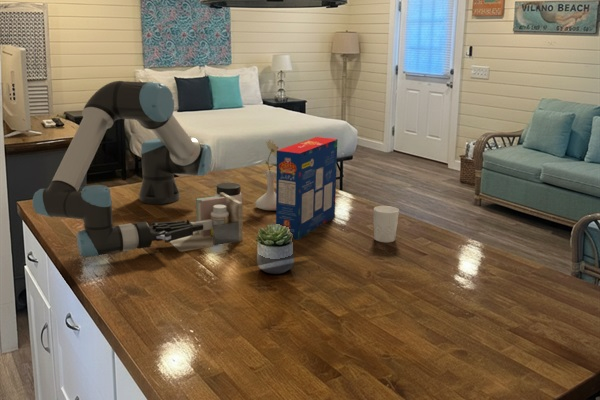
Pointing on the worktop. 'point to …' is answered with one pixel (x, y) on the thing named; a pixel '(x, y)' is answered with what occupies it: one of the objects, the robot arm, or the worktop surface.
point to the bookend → (225, 233)
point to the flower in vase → (269, 184)
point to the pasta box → (306, 185)
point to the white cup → (385, 223)
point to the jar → (230, 190)
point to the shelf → (201, 242)
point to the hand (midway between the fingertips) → (211, 224)
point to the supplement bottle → (219, 216)
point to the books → (207, 209)
